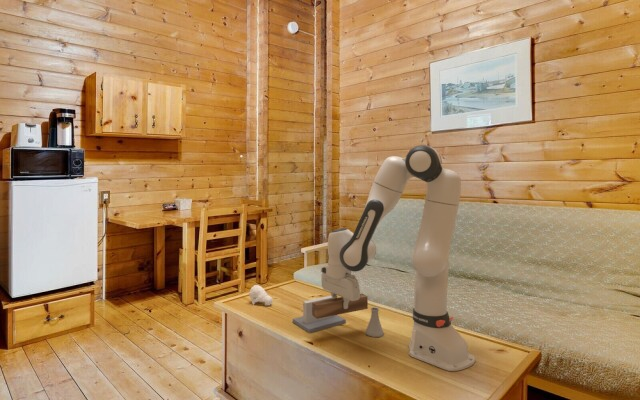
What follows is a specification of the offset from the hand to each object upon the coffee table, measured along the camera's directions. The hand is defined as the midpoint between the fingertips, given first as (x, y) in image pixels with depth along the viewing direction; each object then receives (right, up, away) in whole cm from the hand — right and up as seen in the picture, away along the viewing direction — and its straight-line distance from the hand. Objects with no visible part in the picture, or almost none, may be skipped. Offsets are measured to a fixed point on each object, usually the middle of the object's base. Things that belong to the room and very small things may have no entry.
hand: (340, 306), depth 148 cm
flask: (+13, -11, +2) cm, 18 cm away
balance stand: (-8, -10, +13) cm, 18 cm away
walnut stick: (0, -2, 0) cm, 2 cm away
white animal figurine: (-35, -9, +35) cm, 51 cm away
